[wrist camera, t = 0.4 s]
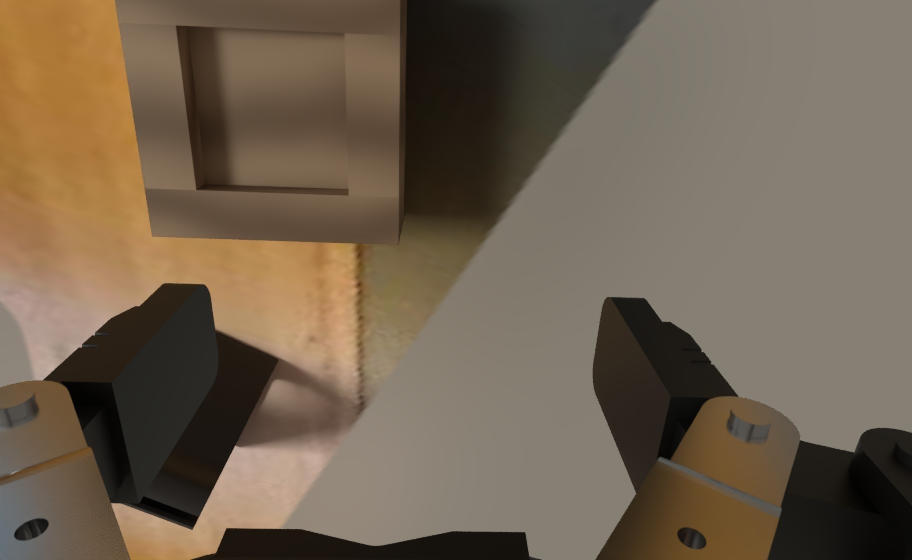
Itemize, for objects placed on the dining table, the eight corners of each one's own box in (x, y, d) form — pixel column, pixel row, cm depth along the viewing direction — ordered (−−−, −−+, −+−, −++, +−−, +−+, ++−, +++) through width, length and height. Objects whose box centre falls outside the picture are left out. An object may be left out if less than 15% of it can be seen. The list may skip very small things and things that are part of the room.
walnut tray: (166, -28, 34) (108, -41, 28) (407, -16, 35) (400, -26, 29) (195, 206, 40) (152, 236, 34) (404, 213, 40) (398, 244, 34)
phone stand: (202, 324, 43) (118, 424, 32) (279, 359, 44) (225, 467, 33) (160, 416, 46) (70, 537, 35) (234, 446, 47) (170, 573, 36)
